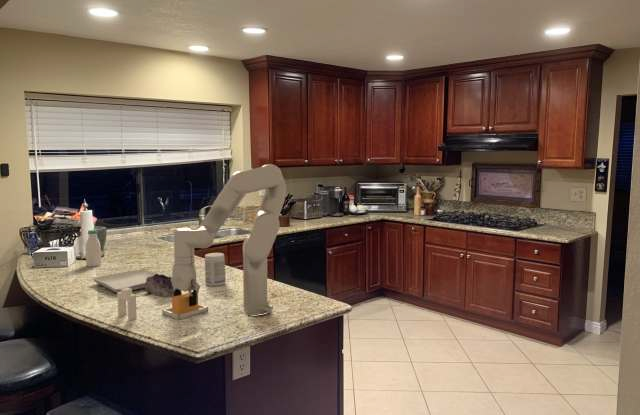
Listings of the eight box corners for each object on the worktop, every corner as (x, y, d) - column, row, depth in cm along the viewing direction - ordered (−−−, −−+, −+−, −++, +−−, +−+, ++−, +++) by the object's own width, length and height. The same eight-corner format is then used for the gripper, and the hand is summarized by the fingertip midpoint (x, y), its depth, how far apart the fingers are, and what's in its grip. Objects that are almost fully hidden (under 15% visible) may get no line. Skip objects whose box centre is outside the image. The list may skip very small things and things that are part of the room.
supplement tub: (226, 281, 244) (226, 252, 242) (223, 286, 235) (223, 256, 233) (207, 281, 244) (206, 252, 242) (203, 286, 234) (202, 256, 233)
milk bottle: (104, 265, 277) (102, 230, 275) (91, 267, 271) (90, 231, 269) (96, 263, 281) (94, 228, 279) (83, 265, 275) (81, 230, 273)
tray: (208, 311, 194) (208, 306, 194) (178, 320, 183) (178, 315, 183) (191, 306, 200) (191, 301, 200) (162, 314, 190) (162, 309, 190)
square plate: (90, 285, 236) (90, 277, 236) (144, 275, 256) (144, 268, 256) (115, 296, 218) (115, 288, 217) (171, 285, 238) (171, 277, 237)
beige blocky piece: (136, 318, 185) (135, 290, 183) (129, 320, 182) (128, 291, 181) (124, 313, 190) (123, 286, 189) (118, 315, 188) (117, 287, 186)
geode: (187, 297, 218) (184, 275, 216) (163, 305, 210) (160, 283, 208) (166, 286, 232) (163, 266, 230) (142, 293, 225) (139, 273, 222)
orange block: (198, 310, 194) (198, 294, 193) (179, 315, 187) (178, 299, 186) (191, 307, 197) (191, 292, 196) (172, 313, 190) (171, 297, 189)
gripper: (163, 258, 192) (164, 301, 194) (190, 265, 181) (190, 310, 183) (179, 255, 198) (180, 296, 200) (206, 261, 187) (207, 305, 189)
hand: (185, 303), depth 191 cm, fingers open, 9 cm apart
